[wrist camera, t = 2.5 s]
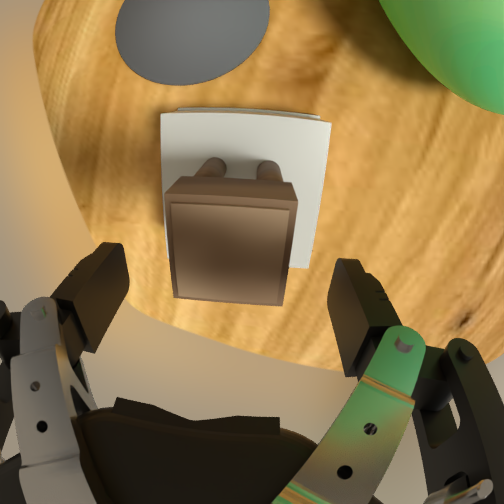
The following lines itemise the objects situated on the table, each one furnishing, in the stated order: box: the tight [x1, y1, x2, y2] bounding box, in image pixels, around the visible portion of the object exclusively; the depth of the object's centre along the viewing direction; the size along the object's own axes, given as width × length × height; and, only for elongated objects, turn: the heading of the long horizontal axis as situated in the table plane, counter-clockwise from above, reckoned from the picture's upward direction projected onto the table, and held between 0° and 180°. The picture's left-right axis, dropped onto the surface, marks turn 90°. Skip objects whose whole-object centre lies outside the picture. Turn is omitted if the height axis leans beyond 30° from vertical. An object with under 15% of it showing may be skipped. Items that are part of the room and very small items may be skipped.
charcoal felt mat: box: [115, 0, 269, 85], centre depth 15 cm, size 12×12×1 cm
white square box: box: [161, 107, 331, 268], centre depth 19 cm, size 10×10×5 cm
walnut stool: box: [164, 157, 298, 306], centre depth 14 cm, size 5×5×7 cm
